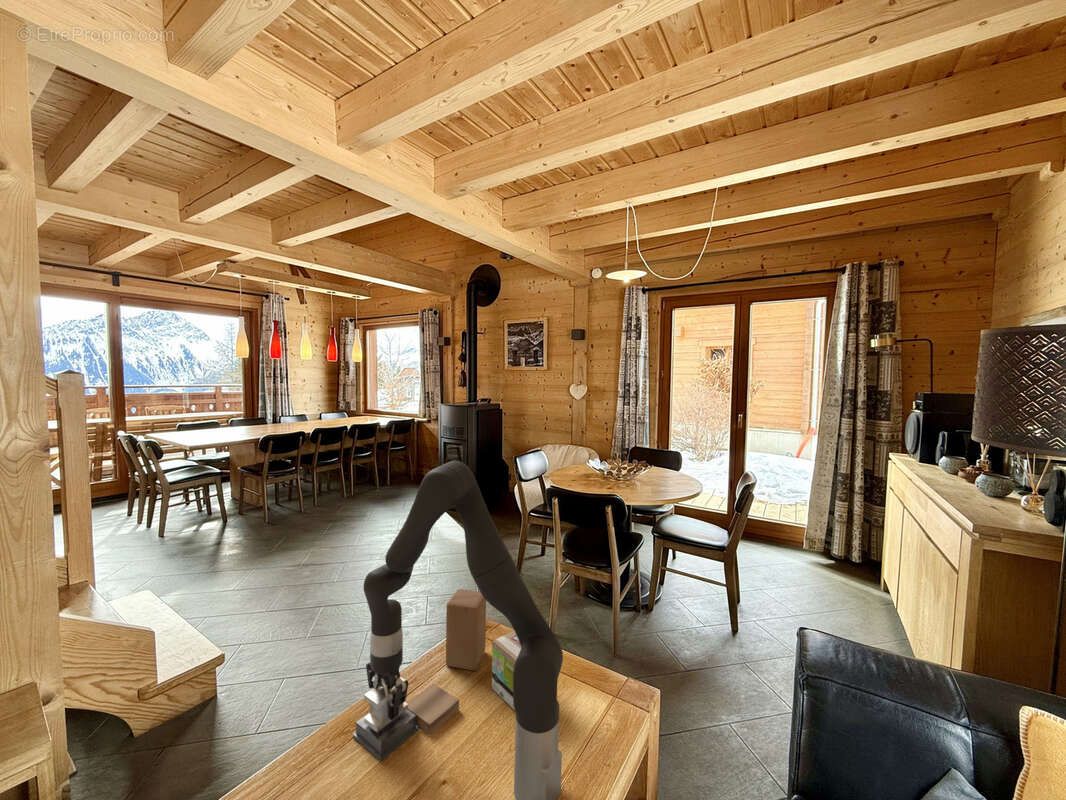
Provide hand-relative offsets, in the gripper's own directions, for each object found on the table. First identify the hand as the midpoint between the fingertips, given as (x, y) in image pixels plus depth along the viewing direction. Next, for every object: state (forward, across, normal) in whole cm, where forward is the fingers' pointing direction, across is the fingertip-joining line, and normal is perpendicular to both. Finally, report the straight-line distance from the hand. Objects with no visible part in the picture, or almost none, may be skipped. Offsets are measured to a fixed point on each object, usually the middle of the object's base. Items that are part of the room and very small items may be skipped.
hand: (386, 711), depth 106 cm
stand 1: (+6, 0, 0) cm, 6 cm away
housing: (+1, 0, 0) cm, 1 cm away
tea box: (+6, +19, +30) cm, 36 cm away
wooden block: (+6, -4, +32) cm, 33 cm away
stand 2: (+6, +4, +11) cm, 13 cm away
